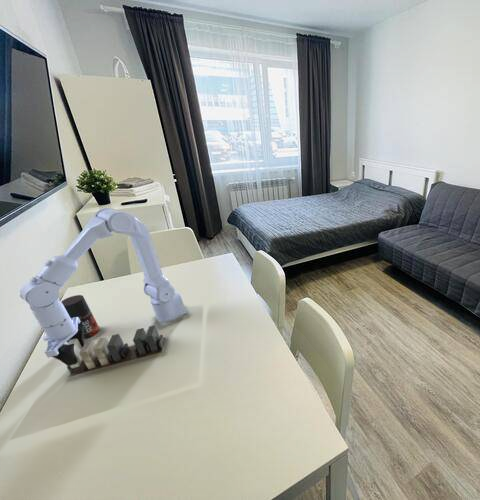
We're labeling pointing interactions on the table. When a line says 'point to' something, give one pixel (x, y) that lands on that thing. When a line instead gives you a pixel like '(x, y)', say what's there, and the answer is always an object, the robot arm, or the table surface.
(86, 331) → the deodorant
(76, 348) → the cream book
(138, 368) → the table surface
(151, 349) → the book rack
